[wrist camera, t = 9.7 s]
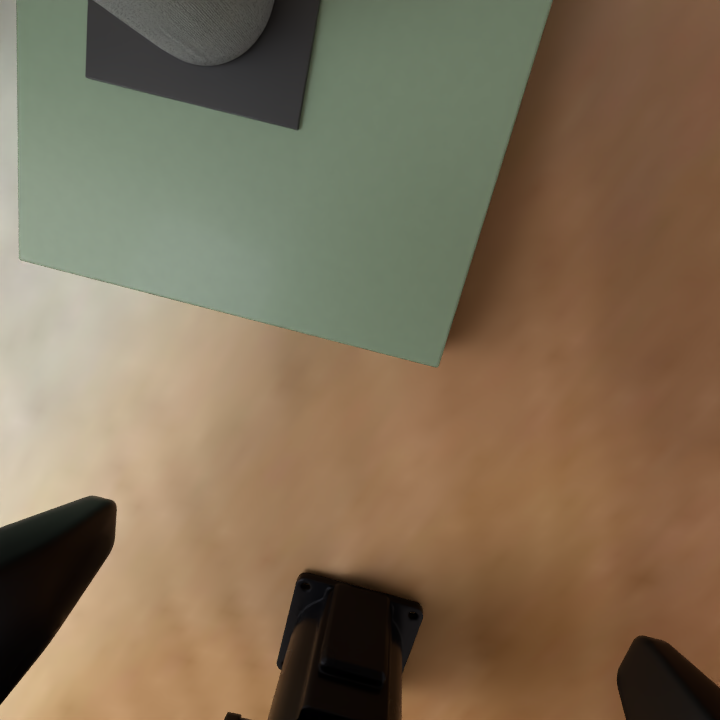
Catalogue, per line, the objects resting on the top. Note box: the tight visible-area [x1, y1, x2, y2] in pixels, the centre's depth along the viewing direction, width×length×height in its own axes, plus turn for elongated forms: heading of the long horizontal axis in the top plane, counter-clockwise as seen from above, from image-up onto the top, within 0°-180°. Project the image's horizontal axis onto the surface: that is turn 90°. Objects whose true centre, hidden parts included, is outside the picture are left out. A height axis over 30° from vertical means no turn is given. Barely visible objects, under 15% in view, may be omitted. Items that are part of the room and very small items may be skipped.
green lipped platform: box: [16, 0, 553, 367], centre depth 13 cm, size 16×16×6 cm
